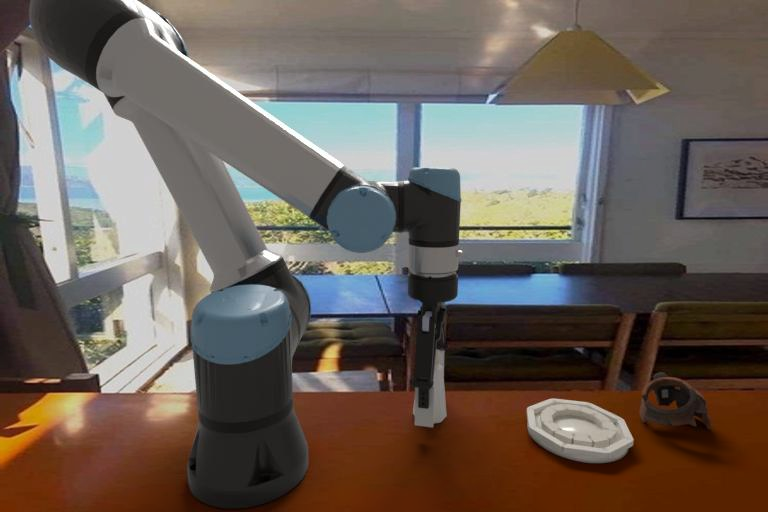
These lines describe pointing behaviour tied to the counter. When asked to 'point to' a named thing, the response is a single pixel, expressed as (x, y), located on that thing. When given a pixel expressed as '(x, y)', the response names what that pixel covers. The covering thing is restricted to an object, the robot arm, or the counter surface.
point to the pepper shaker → (438, 392)
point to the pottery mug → (666, 394)
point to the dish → (578, 431)
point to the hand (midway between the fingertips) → (430, 404)
